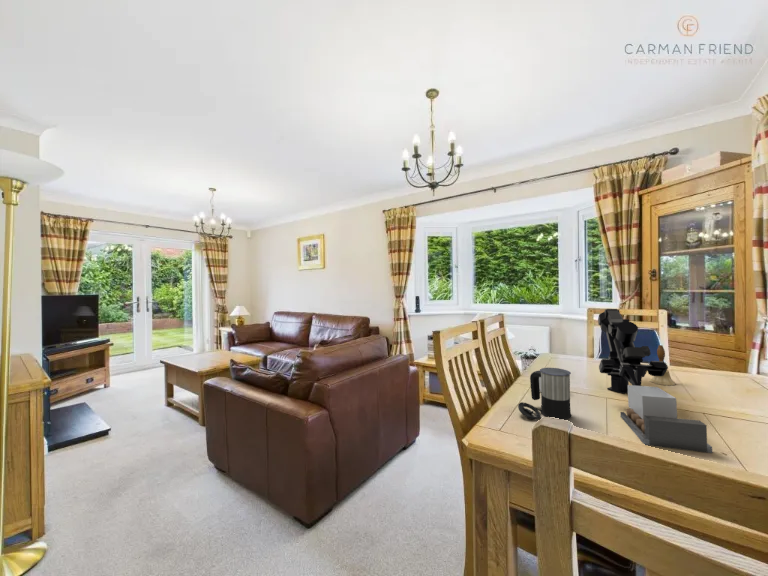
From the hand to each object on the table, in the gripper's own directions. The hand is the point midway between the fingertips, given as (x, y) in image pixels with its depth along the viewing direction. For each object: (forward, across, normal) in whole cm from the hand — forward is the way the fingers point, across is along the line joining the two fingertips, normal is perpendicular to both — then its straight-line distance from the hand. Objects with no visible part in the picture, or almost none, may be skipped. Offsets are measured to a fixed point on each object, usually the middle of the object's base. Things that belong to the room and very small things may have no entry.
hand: (638, 389), depth 106 cm
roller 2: (+13, 0, -3) cm, 13 cm away
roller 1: (+10, 0, 0) cm, 10 cm away
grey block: (+10, 0, -3) cm, 10 cm away
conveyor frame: (+16, 0, -5) cm, 17 cm away
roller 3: (+16, 0, -6) cm, 17 cm away
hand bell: (-22, +21, +33) cm, 45 cm away
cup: (-4, -25, +16) cm, 29 cm away
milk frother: (+13, -30, -2) cm, 33 cm away
